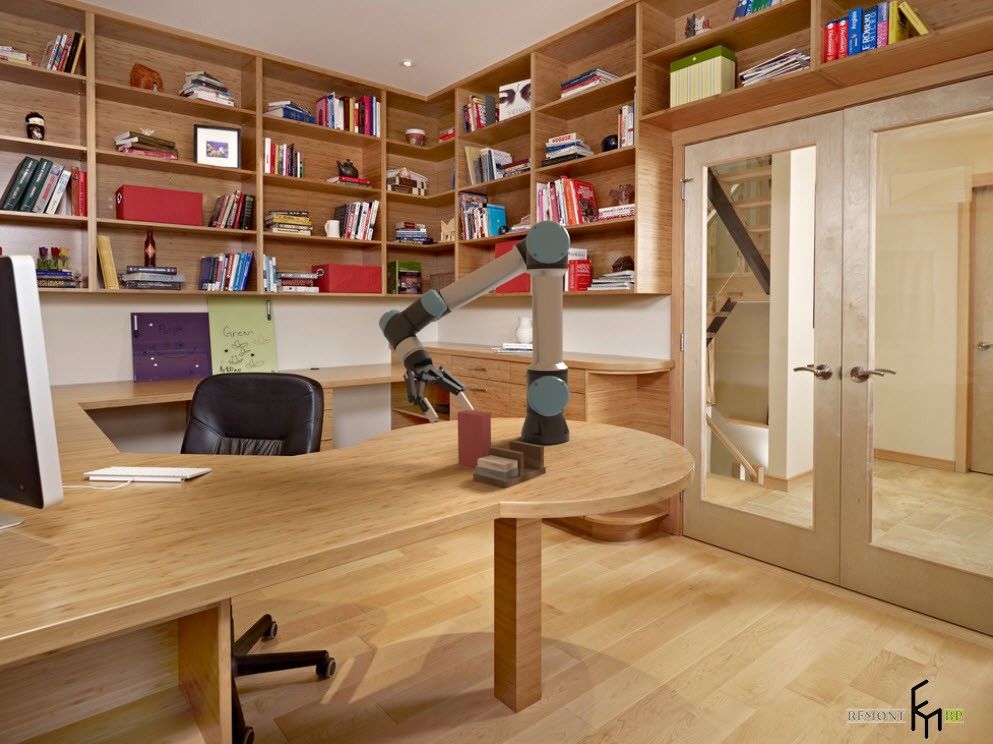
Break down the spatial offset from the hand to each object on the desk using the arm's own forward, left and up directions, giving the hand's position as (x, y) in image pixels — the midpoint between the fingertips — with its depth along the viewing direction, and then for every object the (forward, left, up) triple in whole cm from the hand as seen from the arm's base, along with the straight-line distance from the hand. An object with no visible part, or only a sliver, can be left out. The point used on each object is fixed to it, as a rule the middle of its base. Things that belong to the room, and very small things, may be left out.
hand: (453, 416), depth 165 cm
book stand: (-9, +19, -12) cm, 24 cm away
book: (-4, +5, -12) cm, 14 cm away
